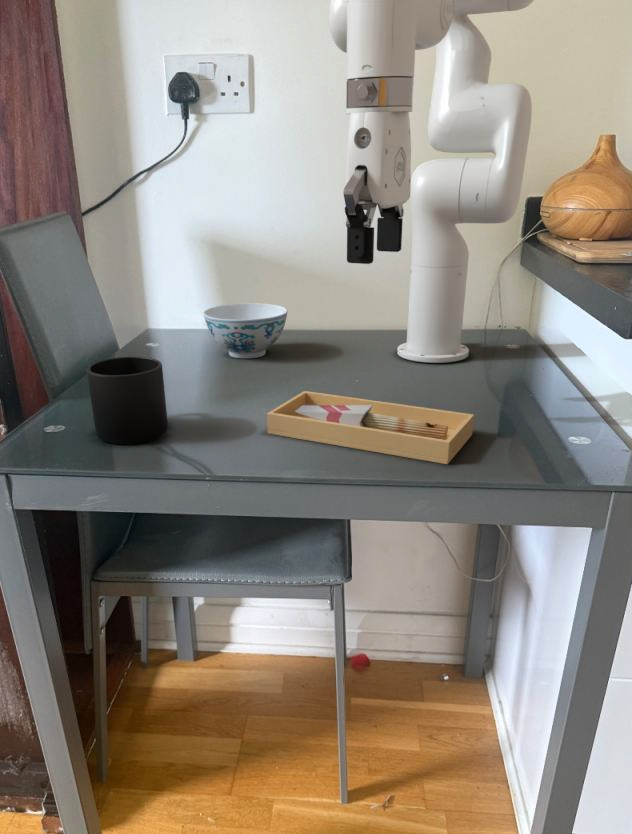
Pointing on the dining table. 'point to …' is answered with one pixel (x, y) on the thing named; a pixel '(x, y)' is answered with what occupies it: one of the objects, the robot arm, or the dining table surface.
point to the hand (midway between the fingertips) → (375, 256)
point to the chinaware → (246, 327)
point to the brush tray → (373, 439)
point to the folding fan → (372, 419)
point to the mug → (128, 399)
